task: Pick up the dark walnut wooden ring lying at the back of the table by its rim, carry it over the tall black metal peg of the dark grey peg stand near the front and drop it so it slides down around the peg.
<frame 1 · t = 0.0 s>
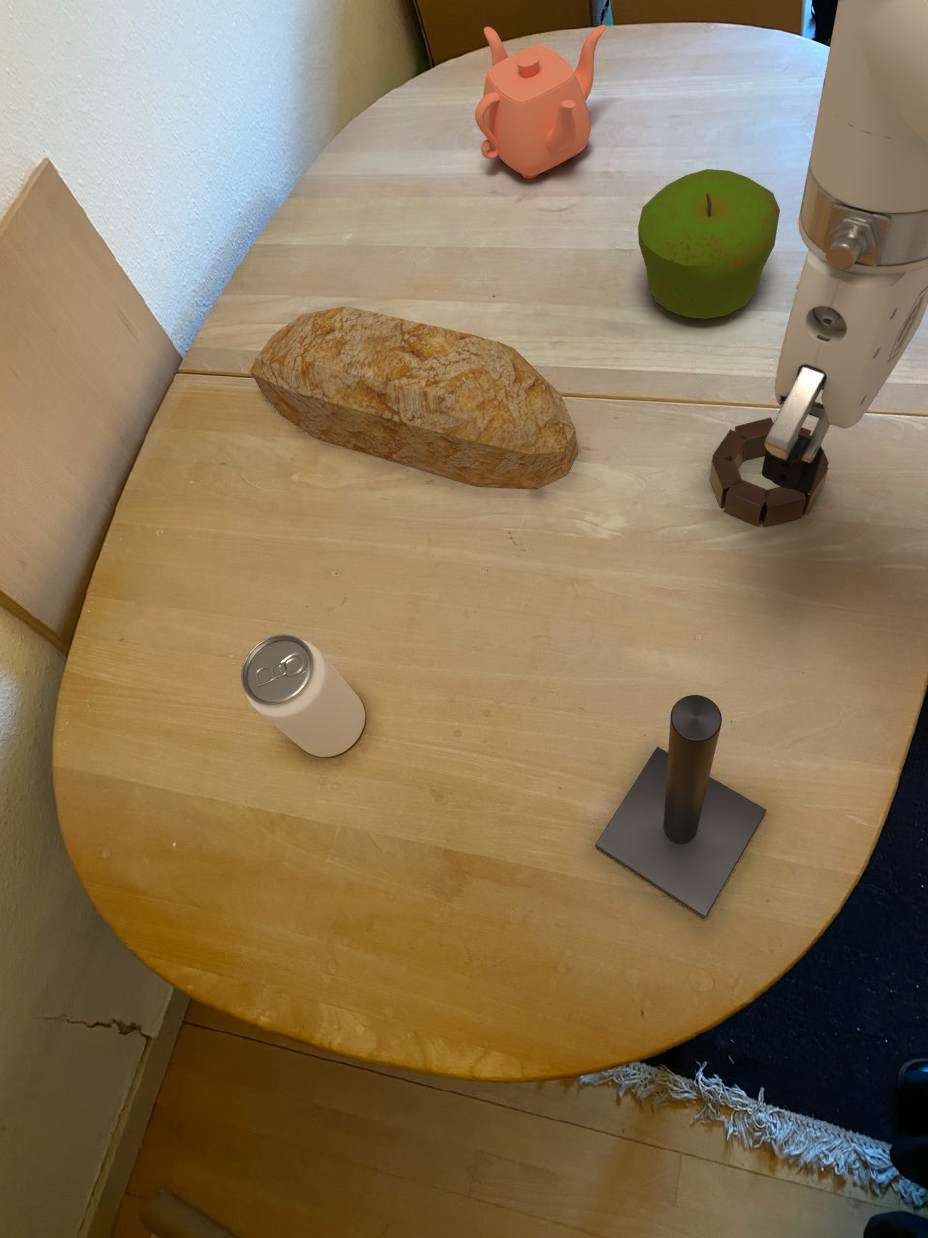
hand: (822, 427, 54), 18 cm above the table, tool pointing down, fingers open, 9 cm apart
apple: (702, 294, 85), on the table
ring: (765, 481, 74), on the table
dark grey peg stand: (679, 831, 62), on the table
can: (331, 723, 72), on the table
bread: (412, 419, 86), on the table
teapot: (549, 147, 100), on the table
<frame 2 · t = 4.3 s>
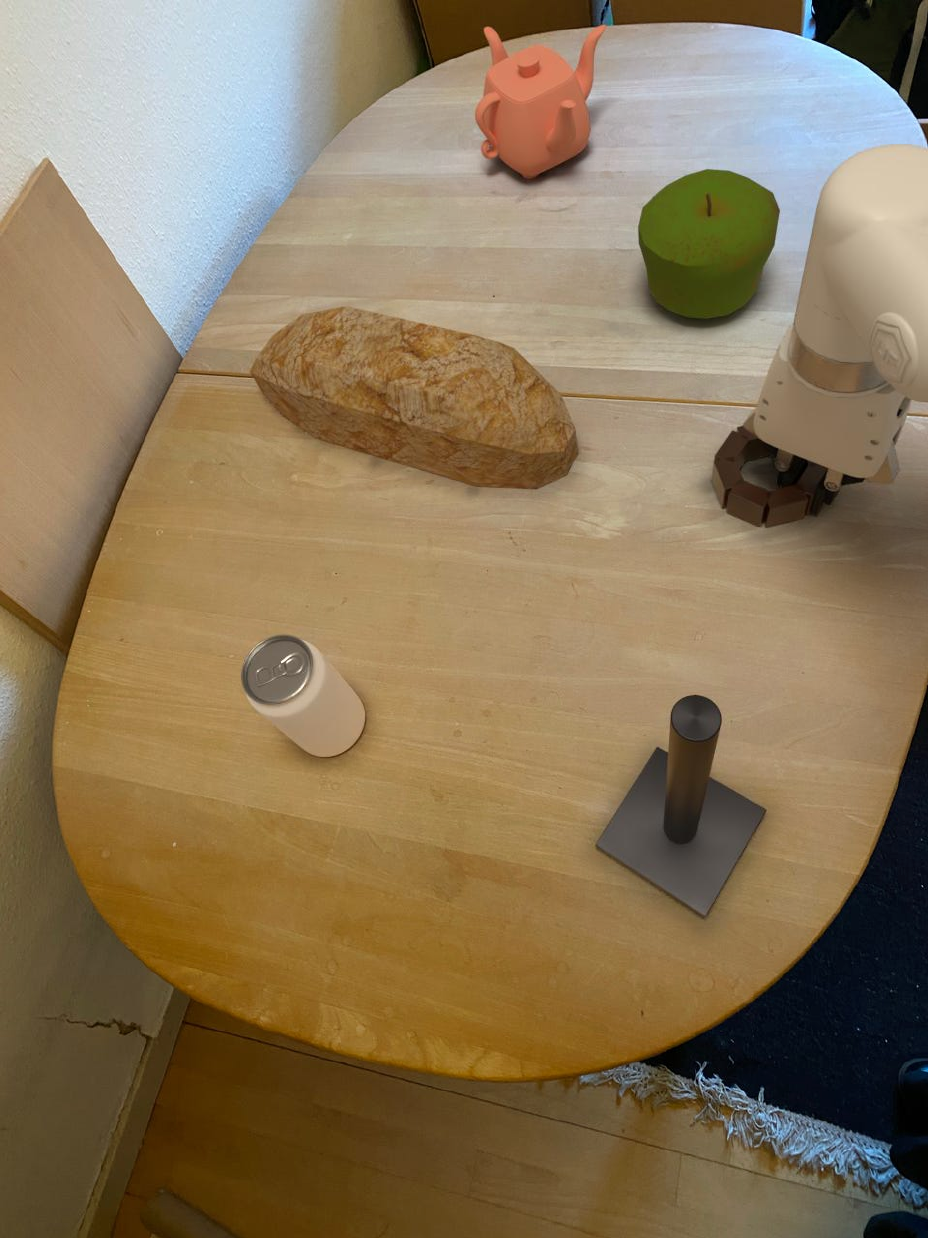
hand: (804, 495, 72), 0 cm above the table, tool pointing down, fingers closed on ring, 2 cm apart
ring: (767, 482, 74), on the table, touching gripper
everything else where it was.
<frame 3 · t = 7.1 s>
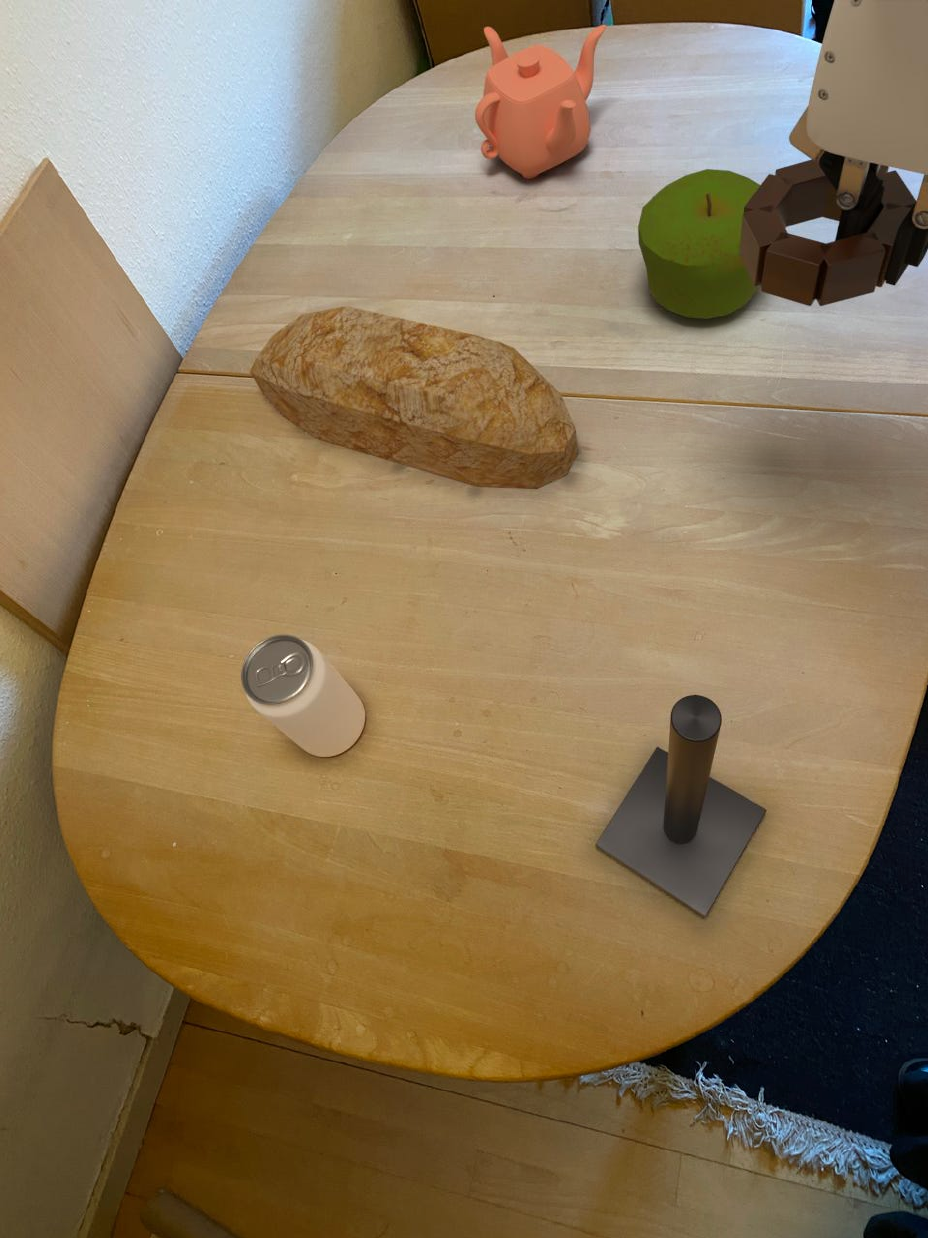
hand: (876, 260, 50), 26 cm above the table, tool pointing down, fingers closed on ring
ring: (819, 250, 51), point 26 cm above the table, touching gripper
everything else where it was.
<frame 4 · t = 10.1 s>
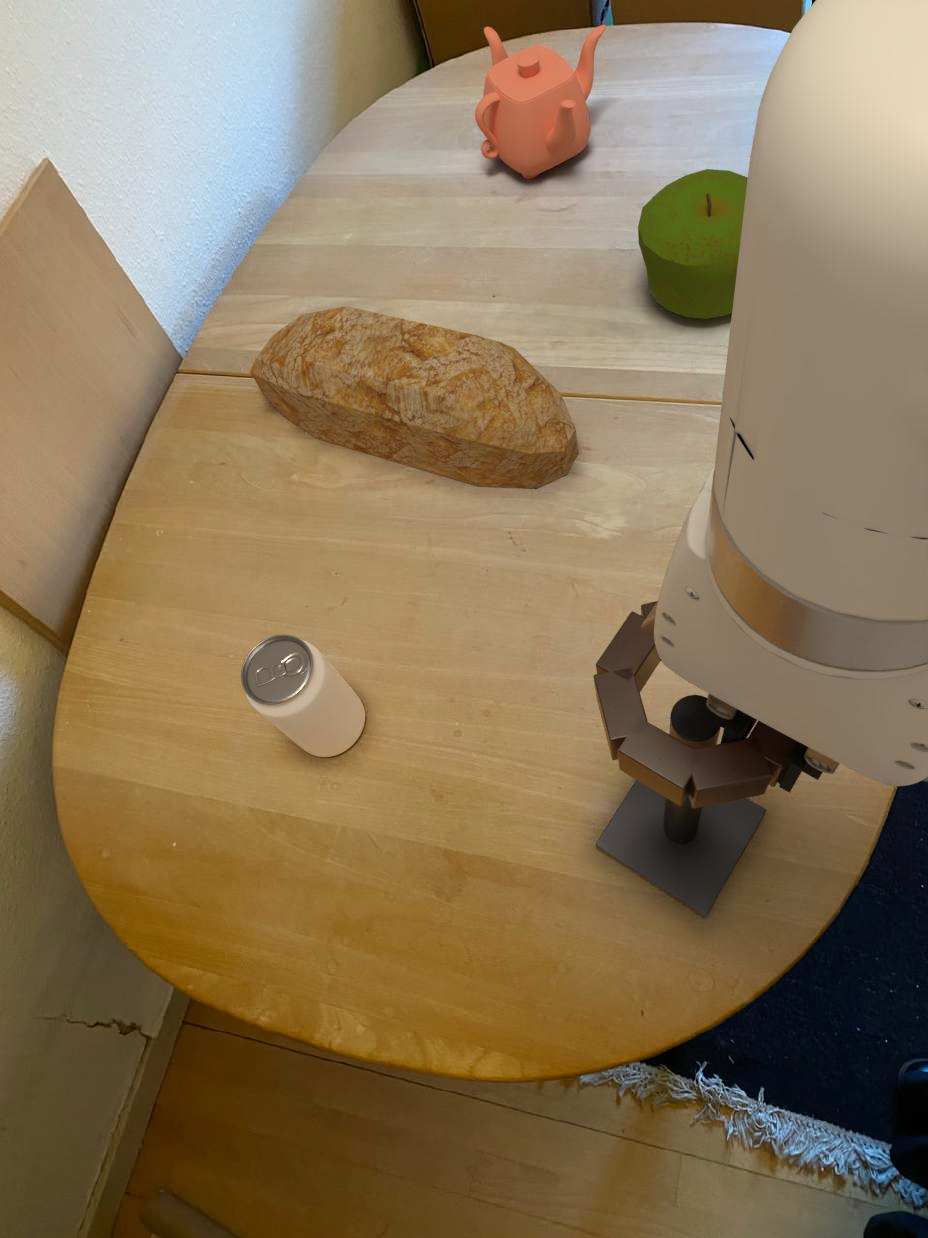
hand: (770, 744, 37), 27 cm above the table, tool pointing down, fingers closed on ring
ring: (699, 708, 39), point 27 cm above the table, touching gripper
everything else where it was.
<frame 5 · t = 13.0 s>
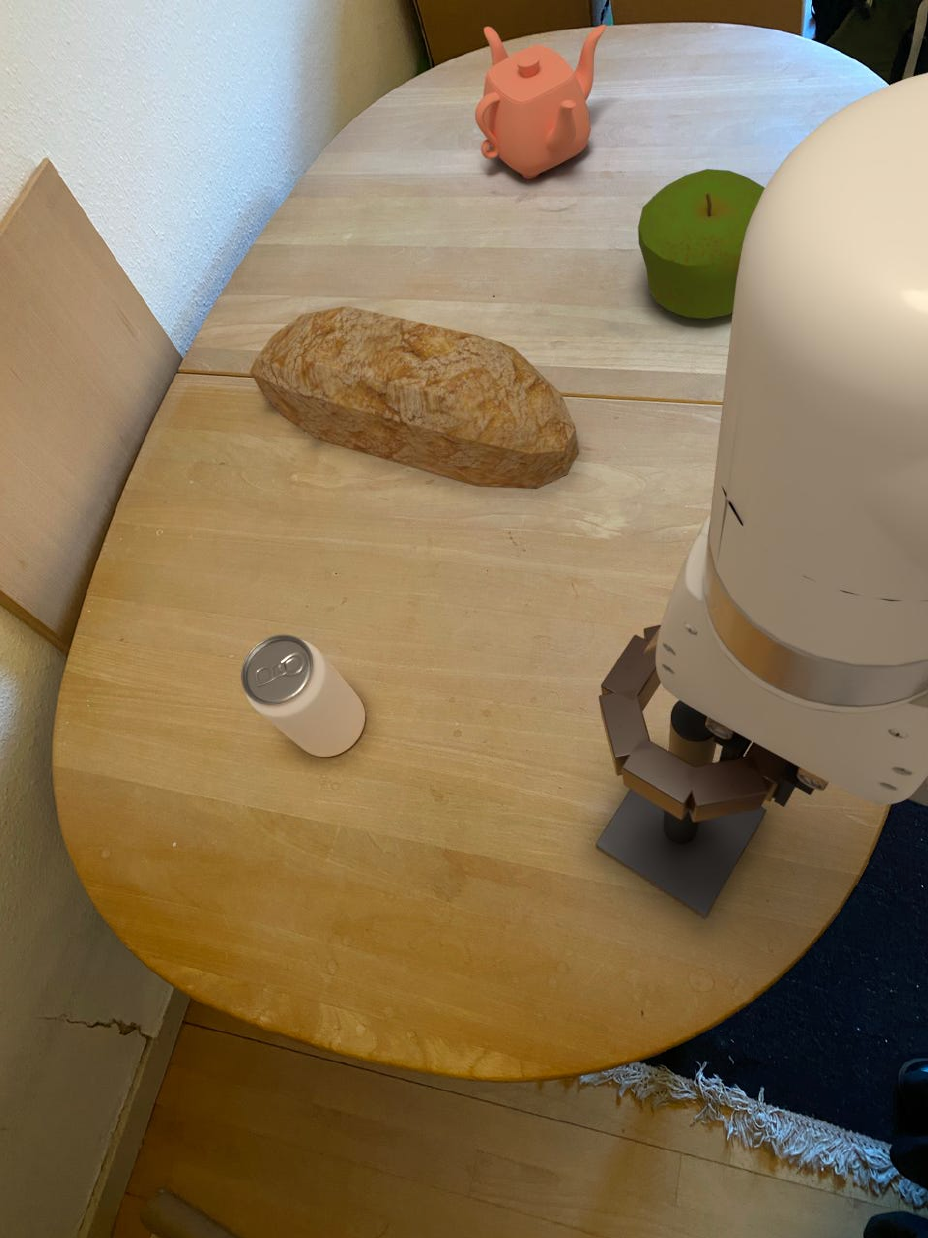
hand: (765, 760, 39), 25 cm above the table, tool pointing down, fingers closed on ring
ring: (699, 726, 41), point 24 cm above the table, touching gripper
everything else where it was.
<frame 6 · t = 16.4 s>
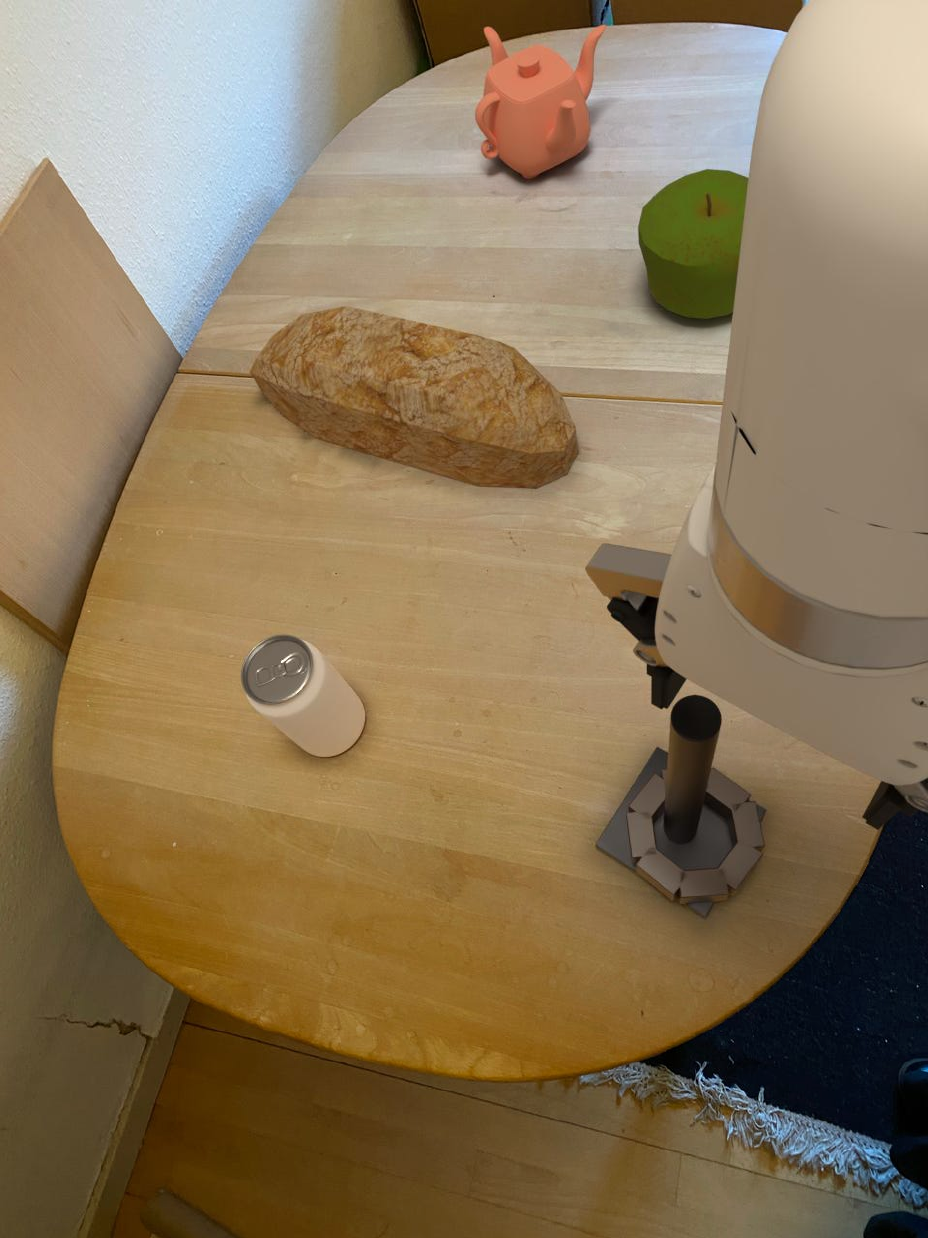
hand: (774, 735, 36), 28 cm above the table, tool pointing down, fingers open, 9 cm apart
ring: (691, 838, 61), point 1 cm above the table, touching dark grey peg stand
everything else where it was.
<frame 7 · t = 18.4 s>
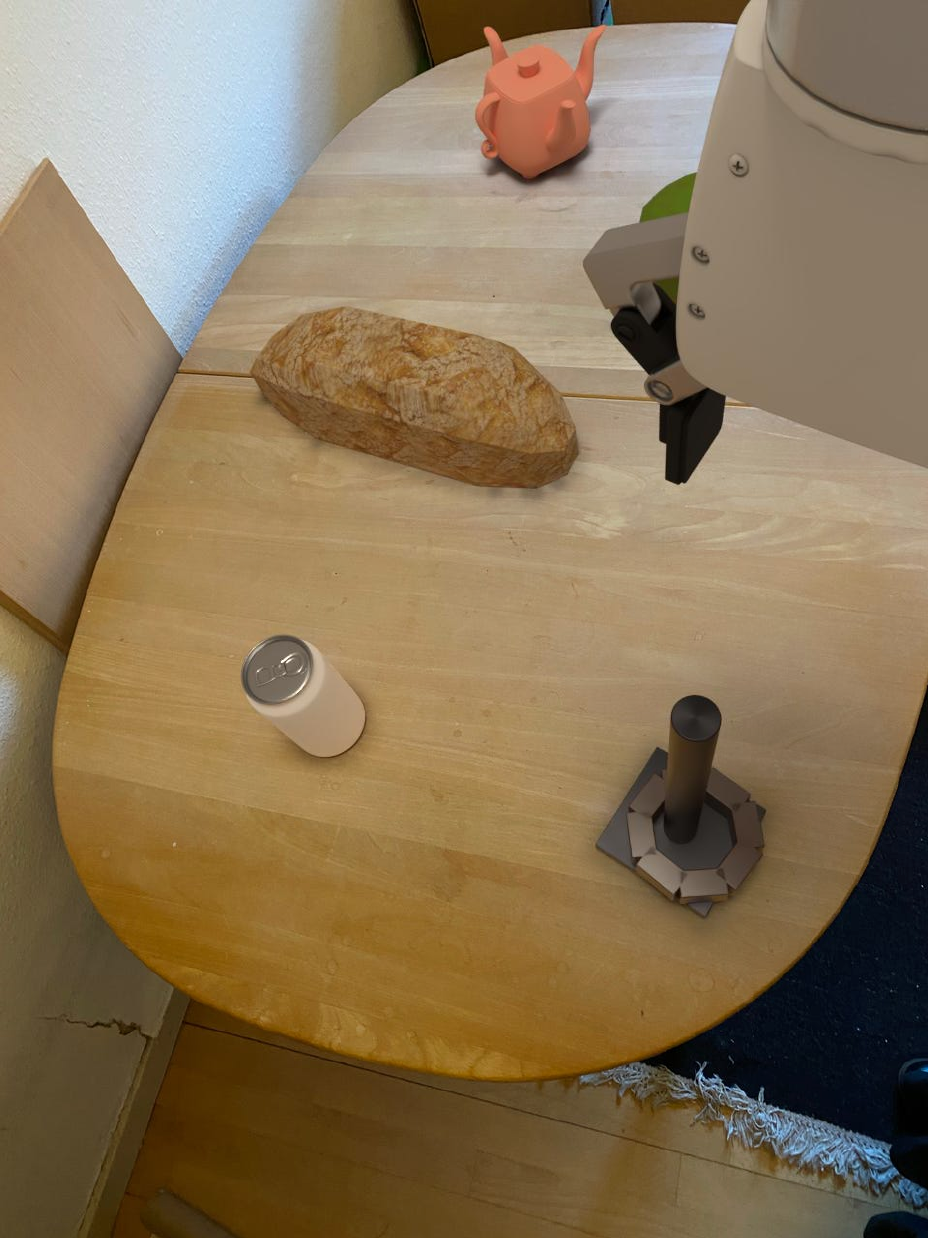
hand: (819, 505, 29), 38 cm above the table, tool pointing down, fingers open, 9 cm apart
nothing on the table moved.
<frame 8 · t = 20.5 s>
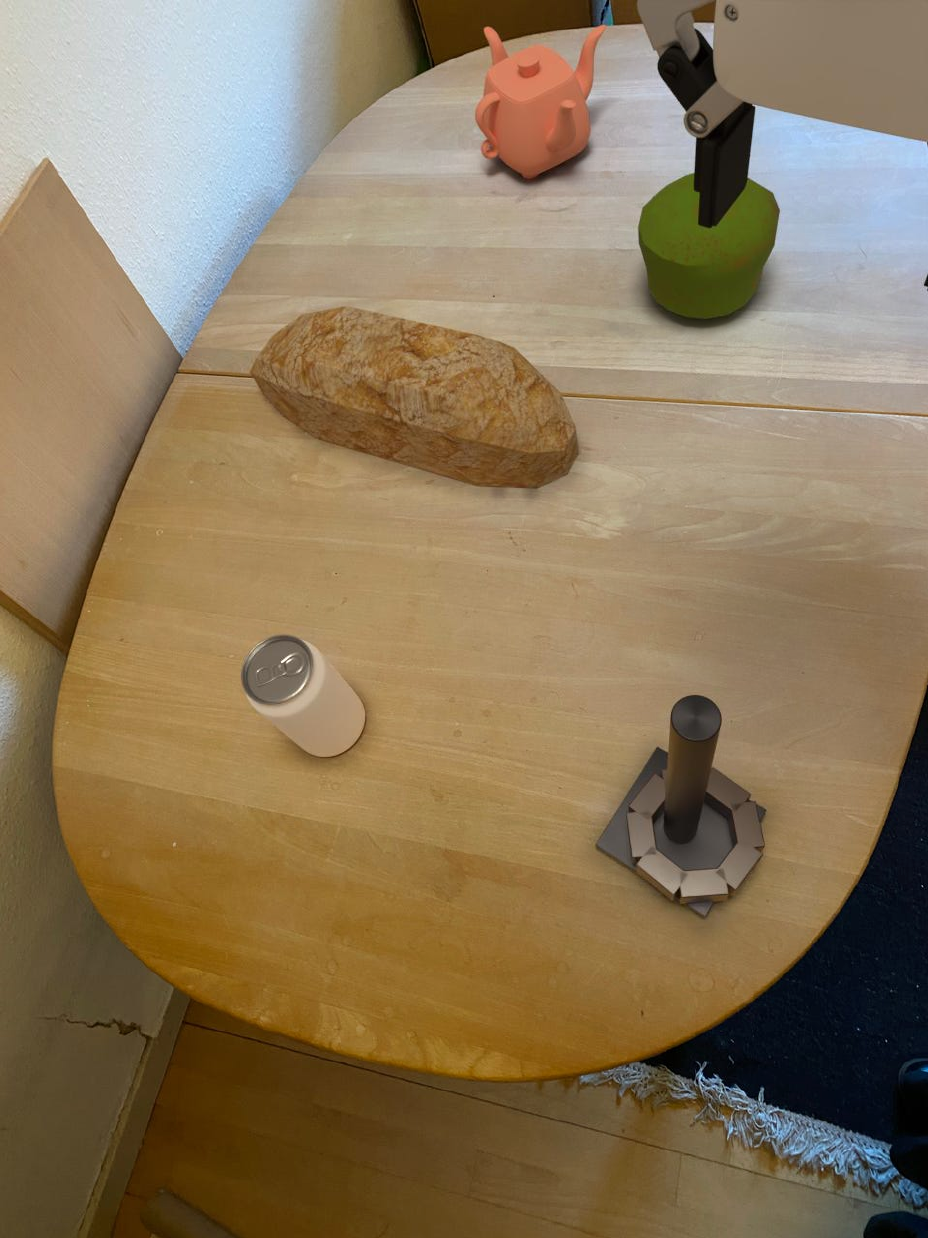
hand: (828, 236, 35), 38 cm above the table, tool pointing down, fingers open, 9 cm apart
nothing on the table moved.
at the end: ring 1.1 cm off-centre on the dark grey peg stand, point 1.2 cm above the dark grey peg stand's base; the gripper is holding nothing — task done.
